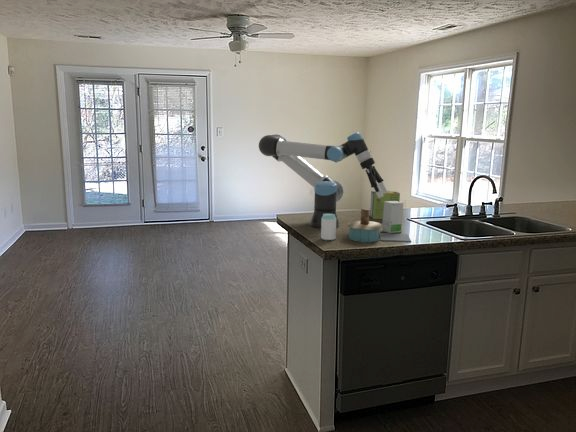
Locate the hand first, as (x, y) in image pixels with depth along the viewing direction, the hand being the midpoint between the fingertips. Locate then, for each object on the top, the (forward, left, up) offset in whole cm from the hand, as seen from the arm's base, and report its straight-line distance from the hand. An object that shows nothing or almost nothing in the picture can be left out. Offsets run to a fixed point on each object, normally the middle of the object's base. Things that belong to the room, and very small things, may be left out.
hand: (383, 195), depth 257 cm
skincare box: (+4, -13, -17) cm, 22 cm away
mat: (+4, -28, -17) cm, 33 cm away
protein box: (+3, +25, -17) cm, 30 cm away
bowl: (-11, -32, -17) cm, 38 cm away
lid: (-11, -32, -11) cm, 36 cm away
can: (-28, -37, -17) cm, 50 cm away
